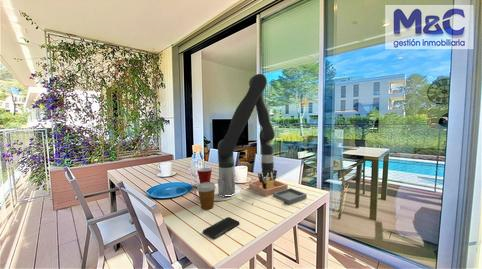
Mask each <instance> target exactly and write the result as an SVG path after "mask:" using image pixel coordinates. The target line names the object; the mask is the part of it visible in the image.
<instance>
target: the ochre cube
mask: <svg viewBox="0 0 482 269" xmlns="http://www.w3.org/2000/svg"><path fill="white" fill-rule="evenodd" d="M262 188H263V187H262ZM271 188H274V181H272V180H269V179H267V180H266V190H267V189H271Z"/></svg>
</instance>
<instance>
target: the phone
mask: <svg viewBox="0 0 482 269" xmlns="http://www.w3.org/2000/svg"><path fill="white" fill-rule="evenodd" d="M238 226H240V221H238V220H236V219H234V218H232V217H230V216H229V217H226V218H223V219H222V220H219V221H217V222H215V223H214V224H212V225H210V226H209V227H206V228H205V229H203V230H202V234H203V235H204V236H207V237H208V238H210V239H211V240H217V239H218V238H220V237H221V236H224V235H225V234H226V233H229V232H230V231H231V230H233V229H235V228H237V227H238Z"/></svg>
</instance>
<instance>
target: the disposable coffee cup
mask: <svg viewBox="0 0 482 269" xmlns="http://www.w3.org/2000/svg"><path fill="white" fill-rule="evenodd" d="M215 184H216V183H214V182H212V181H210V182H204V183H200V182H199V183H198V185H197V187H196V189H197V191H198V192H197V193H198V197H199V204H200V208H201V210H204V211H208V210H211V209H213V208H214V204H215V192H216V191H215V190H216V187H217V186H216V185H215Z"/></svg>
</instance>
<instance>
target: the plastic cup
mask: <svg viewBox="0 0 482 269" xmlns="http://www.w3.org/2000/svg"><path fill="white" fill-rule="evenodd" d="M196 172H197V176H198V180H199V181H198V182H199V184H200V183H204V182H211V177H212V172H213V167H201V168H197V169H196Z"/></svg>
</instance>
